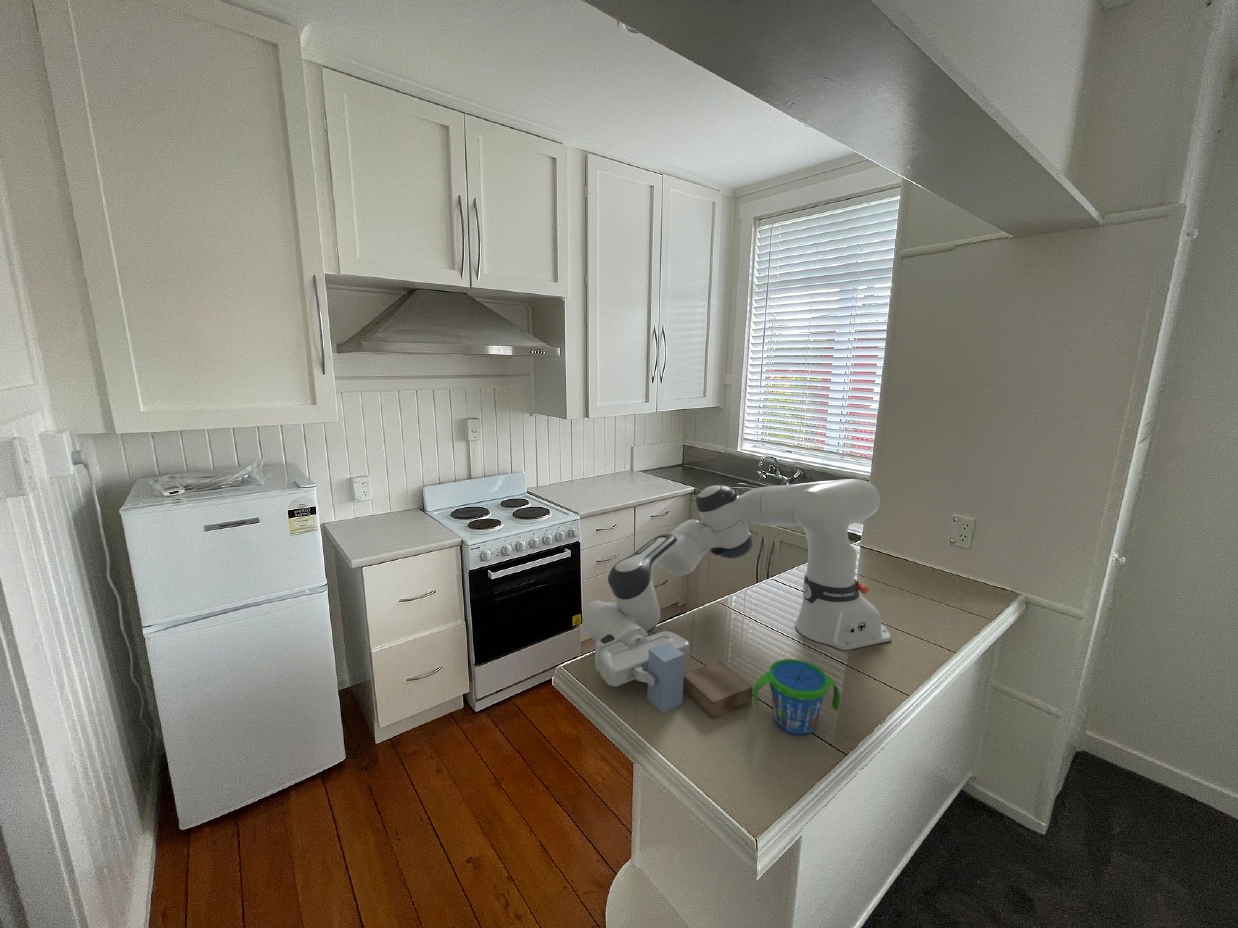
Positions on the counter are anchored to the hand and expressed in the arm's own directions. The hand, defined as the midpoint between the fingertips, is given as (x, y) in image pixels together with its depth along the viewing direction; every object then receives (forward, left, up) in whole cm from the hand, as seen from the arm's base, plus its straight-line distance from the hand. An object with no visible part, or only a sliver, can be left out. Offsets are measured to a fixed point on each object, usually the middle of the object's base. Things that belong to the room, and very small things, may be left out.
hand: (668, 676), depth 99 cm
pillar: (0, -1, -6) cm, 6 cm away
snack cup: (-23, +8, -6) cm, 25 cm away
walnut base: (-10, -1, -6) cm, 12 cm away
